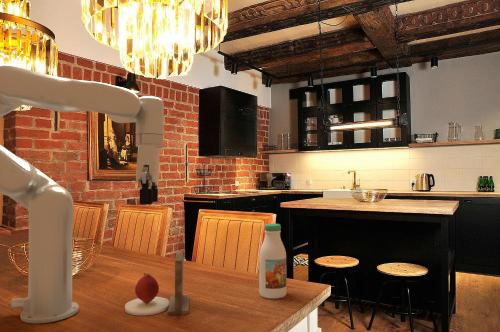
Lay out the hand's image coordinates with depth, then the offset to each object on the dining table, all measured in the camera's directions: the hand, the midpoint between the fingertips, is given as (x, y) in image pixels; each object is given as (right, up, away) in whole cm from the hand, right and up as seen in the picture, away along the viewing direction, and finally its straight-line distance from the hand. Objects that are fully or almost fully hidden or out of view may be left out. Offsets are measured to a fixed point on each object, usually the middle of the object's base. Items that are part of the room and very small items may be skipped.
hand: (149, 203), depth 104 cm
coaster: (+2, -26, -8) cm, 27 cm away
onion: (+2, -25, -8) cm, 26 cm away
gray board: (+10, -26, -7) cm, 29 cm away
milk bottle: (+35, -27, +2) cm, 44 cm away
